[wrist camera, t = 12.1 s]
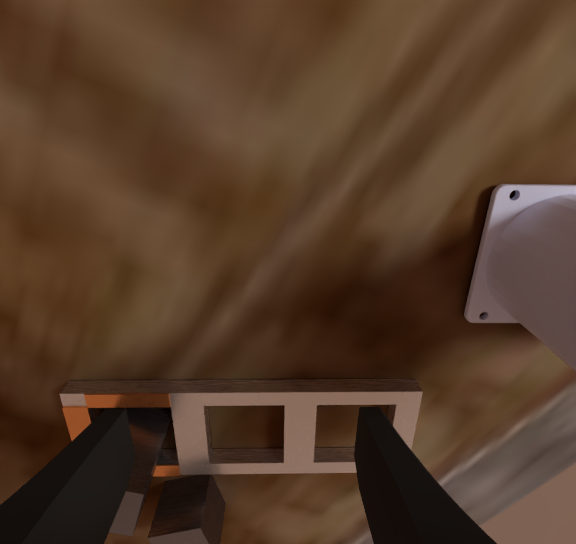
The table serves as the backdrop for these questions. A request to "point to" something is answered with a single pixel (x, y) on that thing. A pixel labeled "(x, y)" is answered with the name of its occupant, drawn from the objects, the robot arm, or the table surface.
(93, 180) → the table surface
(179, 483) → the grey wood-grain cube
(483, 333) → the table surface
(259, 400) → the square hole plate
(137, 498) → the dark square post
